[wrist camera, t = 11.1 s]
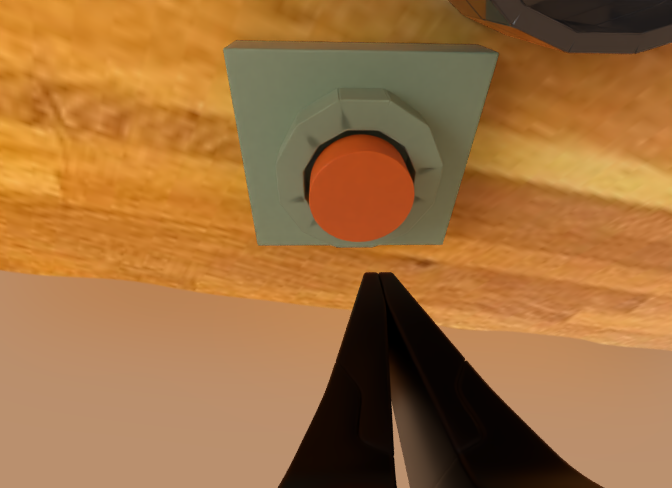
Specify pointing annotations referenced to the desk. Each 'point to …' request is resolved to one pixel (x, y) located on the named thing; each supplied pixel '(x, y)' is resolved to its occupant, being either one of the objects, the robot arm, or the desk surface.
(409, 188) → the button
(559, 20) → the bowl
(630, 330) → the desk surface
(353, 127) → the control block
